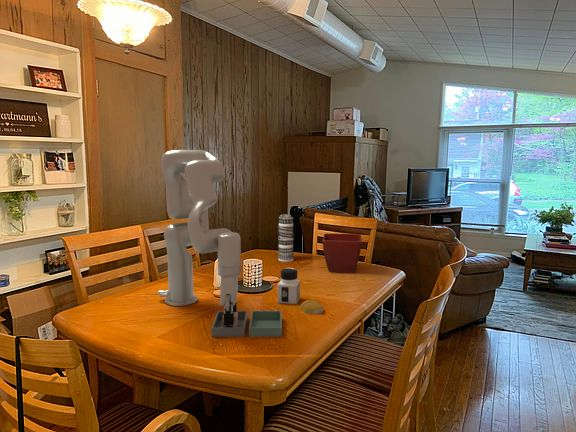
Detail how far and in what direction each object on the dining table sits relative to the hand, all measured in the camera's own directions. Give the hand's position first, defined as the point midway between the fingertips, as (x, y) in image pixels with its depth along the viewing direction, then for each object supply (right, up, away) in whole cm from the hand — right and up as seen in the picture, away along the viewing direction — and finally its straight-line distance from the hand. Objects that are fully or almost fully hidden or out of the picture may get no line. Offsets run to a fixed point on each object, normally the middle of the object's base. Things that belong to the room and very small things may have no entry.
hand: (230, 319), depth 147 cm
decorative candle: (+18, +10, +94) cm, 96 cm away
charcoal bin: (0, -3, +1) cm, 4 cm away
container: (+20, 0, +29) cm, 35 cm away
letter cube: (0, -3, 0) cm, 3 cm away
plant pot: (+47, +7, +75) cm, 89 cm away
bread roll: (+28, -2, +17) cm, 33 cm away
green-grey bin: (+12, -3, +1) cm, 12 cm away
